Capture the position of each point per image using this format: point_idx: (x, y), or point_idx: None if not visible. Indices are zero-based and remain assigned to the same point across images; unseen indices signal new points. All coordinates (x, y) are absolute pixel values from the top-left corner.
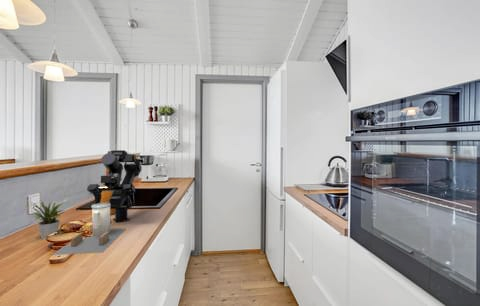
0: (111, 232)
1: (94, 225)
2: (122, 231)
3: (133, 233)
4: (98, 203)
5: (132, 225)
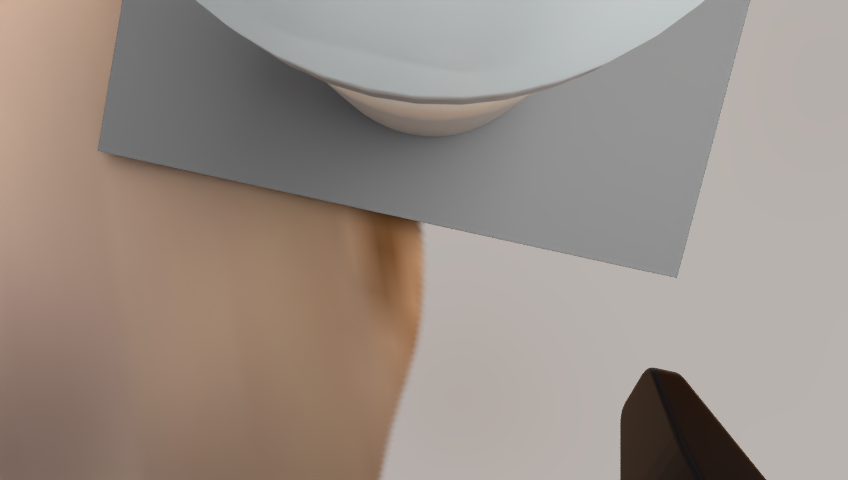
0: None
1: None
2: (139, 16)
3: (5, 15)
4: (622, 14)
5: (73, 411)
